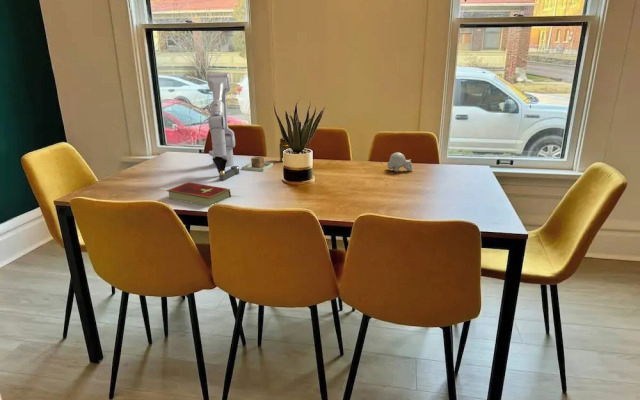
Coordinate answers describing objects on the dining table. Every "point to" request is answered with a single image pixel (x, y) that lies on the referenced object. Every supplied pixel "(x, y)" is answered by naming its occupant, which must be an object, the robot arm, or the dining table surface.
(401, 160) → the toy rhinoceros
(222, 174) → the crank
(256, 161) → the block
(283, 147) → the condiment
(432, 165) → the dining table surface
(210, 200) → the hardcover book
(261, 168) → the tray
